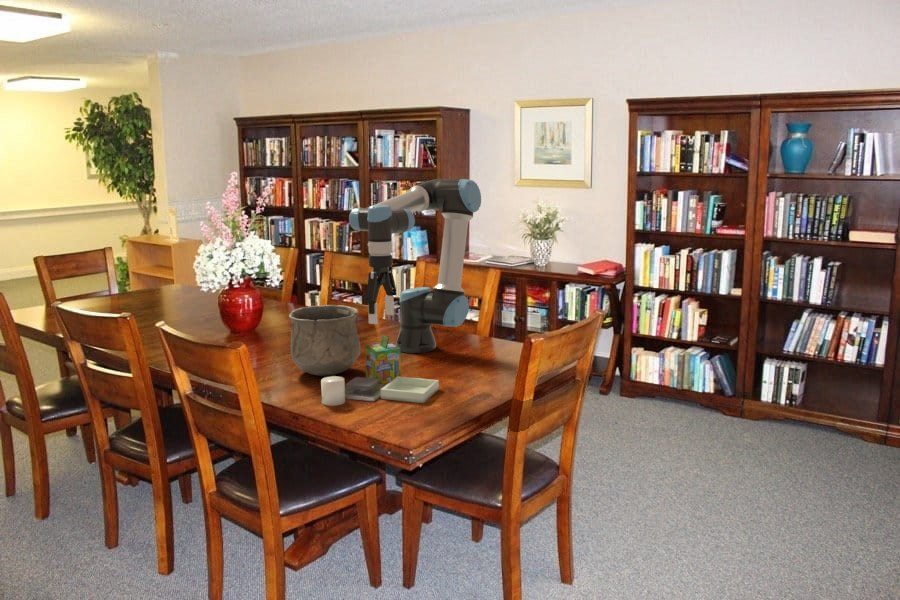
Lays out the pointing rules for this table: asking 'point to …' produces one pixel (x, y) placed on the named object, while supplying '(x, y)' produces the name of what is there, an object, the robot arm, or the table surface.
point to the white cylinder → (333, 390)
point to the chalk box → (383, 361)
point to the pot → (324, 339)
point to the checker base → (364, 393)
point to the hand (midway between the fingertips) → (381, 319)
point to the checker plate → (362, 383)
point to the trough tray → (410, 389)
